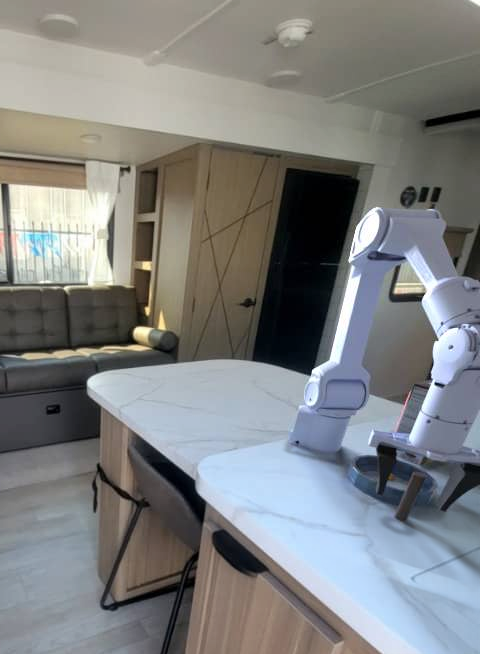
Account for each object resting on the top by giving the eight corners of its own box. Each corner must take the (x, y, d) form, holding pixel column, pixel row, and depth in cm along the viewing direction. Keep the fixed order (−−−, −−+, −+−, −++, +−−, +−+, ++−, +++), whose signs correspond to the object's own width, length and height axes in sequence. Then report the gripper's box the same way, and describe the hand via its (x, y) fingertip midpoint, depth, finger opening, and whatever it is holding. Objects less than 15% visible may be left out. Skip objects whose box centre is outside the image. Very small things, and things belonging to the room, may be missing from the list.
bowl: (344, 498, 68) (352, 478, 67) (344, 467, 78) (351, 448, 76) (433, 522, 63) (443, 501, 61) (421, 485, 73) (430, 466, 71)
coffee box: (408, 449, 86) (439, 376, 79) (443, 462, 81) (478, 386, 74) (383, 457, 82) (413, 382, 75) (417, 472, 77) (453, 393, 70)
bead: (378, 482, 72) (381, 473, 72) (377, 477, 74) (381, 468, 73) (391, 485, 72) (395, 476, 71) (390, 480, 73) (394, 471, 72)
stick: (385, 527, 62) (407, 476, 58) (384, 516, 64) (405, 466, 60) (411, 534, 60) (435, 482, 56) (408, 523, 63) (431, 472, 59)
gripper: (385, 413, 54) (353, 497, 60) (529, 440, 48) (478, 531, 54) (381, 397, 60) (353, 476, 66) (510, 419, 54) (465, 504, 59)
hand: (409, 499), depth 60 cm, fingers open, 7 cm apart
